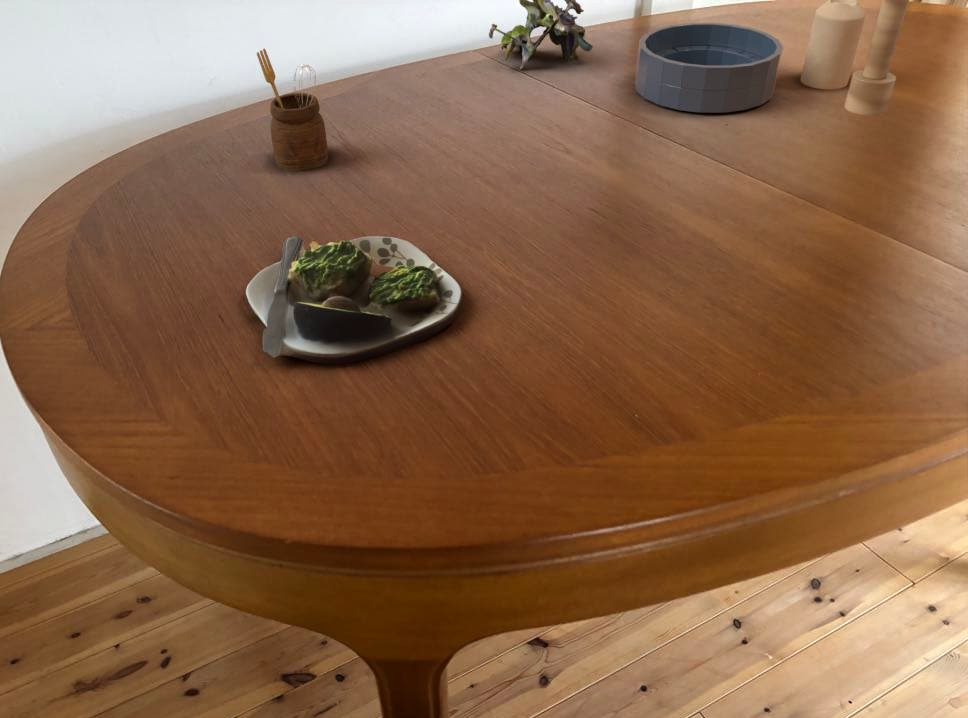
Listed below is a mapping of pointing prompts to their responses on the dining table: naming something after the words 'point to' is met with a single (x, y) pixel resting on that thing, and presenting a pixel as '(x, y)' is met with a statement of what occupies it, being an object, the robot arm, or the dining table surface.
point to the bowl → (707, 67)
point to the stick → (877, 64)
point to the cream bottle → (833, 44)
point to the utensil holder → (295, 125)
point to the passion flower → (546, 30)
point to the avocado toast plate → (351, 299)
